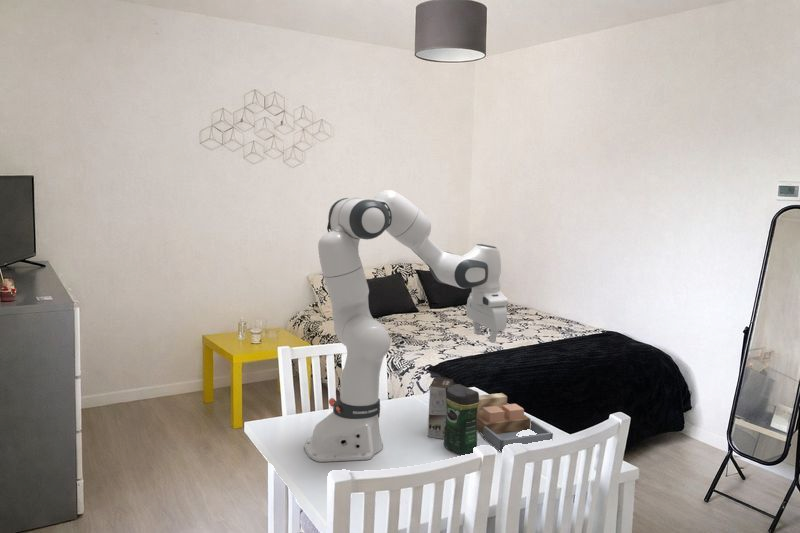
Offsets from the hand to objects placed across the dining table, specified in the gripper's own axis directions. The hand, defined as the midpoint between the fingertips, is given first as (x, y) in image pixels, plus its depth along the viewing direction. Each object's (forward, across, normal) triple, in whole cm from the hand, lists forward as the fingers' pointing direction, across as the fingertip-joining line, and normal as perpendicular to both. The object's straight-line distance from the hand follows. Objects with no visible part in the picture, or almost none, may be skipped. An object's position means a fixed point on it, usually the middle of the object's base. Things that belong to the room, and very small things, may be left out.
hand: (484, 338), depth 201 cm
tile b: (+24, +7, +6) cm, 26 cm away
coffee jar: (+28, +16, -16) cm, 36 cm away
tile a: (+24, +8, -1) cm, 25 cm away
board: (+28, +4, +3) cm, 28 cm away
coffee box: (+28, +4, -17) cm, 33 cm away
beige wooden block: (+24, -2, +3) cm, 24 cm away
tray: (+28, +16, +3) cm, 33 cm away
